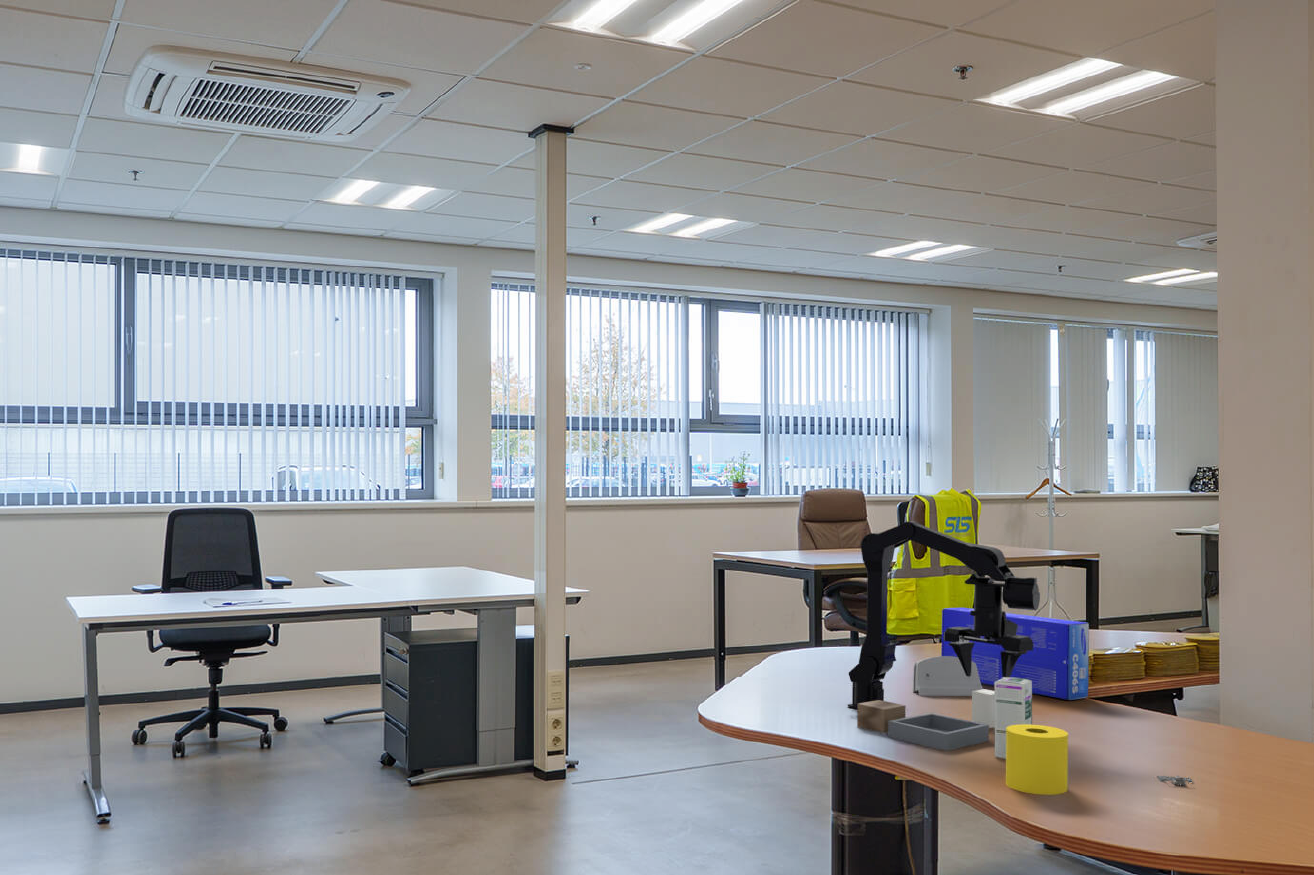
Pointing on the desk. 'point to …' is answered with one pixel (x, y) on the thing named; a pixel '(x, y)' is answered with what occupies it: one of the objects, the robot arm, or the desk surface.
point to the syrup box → (1011, 708)
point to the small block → (983, 707)
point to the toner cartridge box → (1033, 653)
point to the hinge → (944, 677)
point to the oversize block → (878, 715)
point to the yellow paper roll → (1036, 759)
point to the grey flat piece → (1175, 779)
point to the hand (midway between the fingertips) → (986, 679)
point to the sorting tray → (938, 731)
